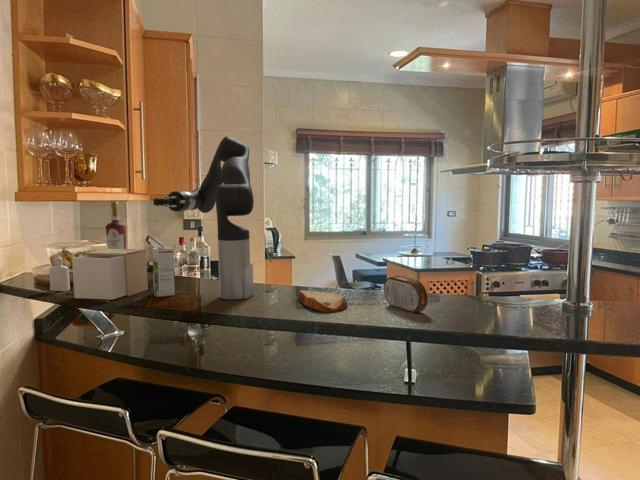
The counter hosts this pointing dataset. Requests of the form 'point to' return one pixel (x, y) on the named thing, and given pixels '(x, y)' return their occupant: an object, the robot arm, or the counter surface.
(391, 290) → the tin
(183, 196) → the robot arm
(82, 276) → the plain white carton
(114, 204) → the liquor
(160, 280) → the syrup box
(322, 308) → the slice of bread
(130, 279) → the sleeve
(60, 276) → the eye dropper bottle
